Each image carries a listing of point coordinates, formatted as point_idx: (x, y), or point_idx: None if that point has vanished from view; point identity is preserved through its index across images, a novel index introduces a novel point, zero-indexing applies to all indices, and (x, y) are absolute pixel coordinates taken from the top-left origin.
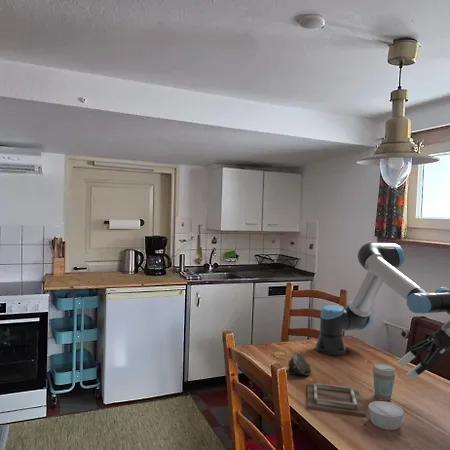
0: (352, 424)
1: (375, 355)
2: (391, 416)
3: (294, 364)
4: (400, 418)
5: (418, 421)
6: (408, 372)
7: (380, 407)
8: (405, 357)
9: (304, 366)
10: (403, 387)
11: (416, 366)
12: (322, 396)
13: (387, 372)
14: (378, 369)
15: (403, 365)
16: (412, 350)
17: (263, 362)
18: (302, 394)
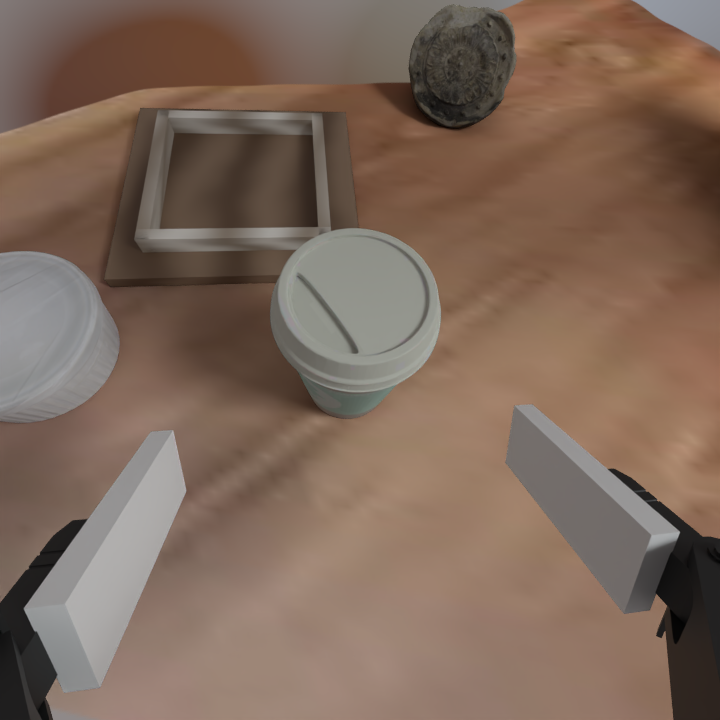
0: (30, 237)
1: None
2: None
3: (419, 33)
4: None
5: None
6: (155, 448)
7: (7, 299)
8: (567, 470)
9: (462, 82)
10: (543, 515)
11: (91, 537)
12: (236, 149)
13: (275, 308)
14: (299, 250)
15: (515, 466)
16: (699, 572)
17: None
18: (259, 108)
